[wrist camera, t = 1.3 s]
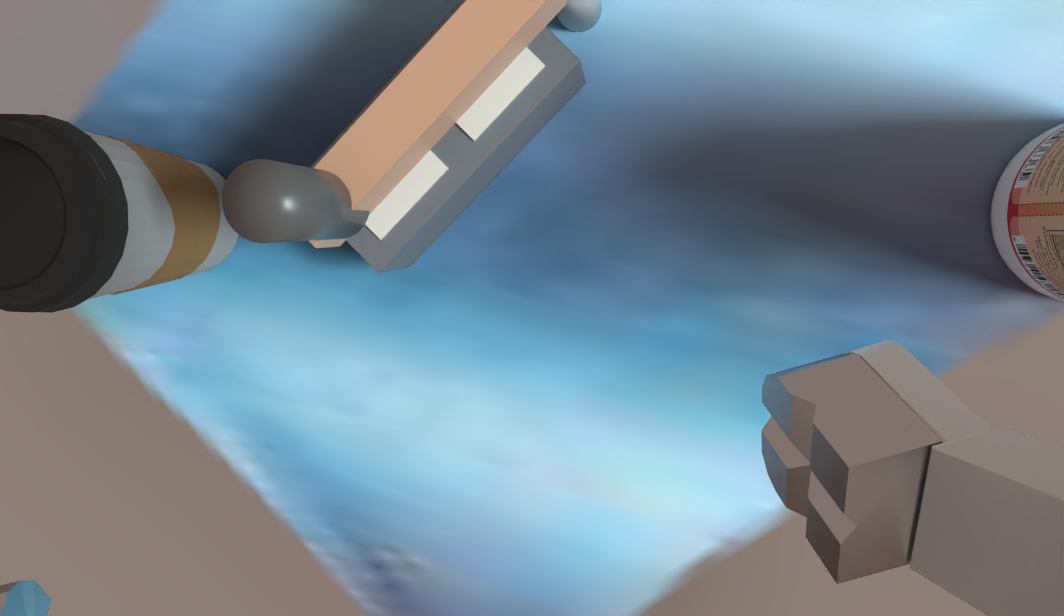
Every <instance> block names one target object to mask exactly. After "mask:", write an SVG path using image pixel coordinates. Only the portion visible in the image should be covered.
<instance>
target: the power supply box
mask: <svg viewBox="0 0 1064 616" xmlns="http://www.w3.org/2000/svg"><path fill="white" fill-rule="evenodd" d="M465 1H466V0H461V1H460V2H459V3H458V4H457V6H456V7H455V8H454V9H453V10H452V11H451V12H450V13H449V14H448V15H447V17H446V18H445V19H444V20H443V21H442V22H441V23H440V24H439V25H438V26H437V28H436V29H435V30H434V31H433V32H432V33H431V34H430V35H429V36H428V37H427V39H426V40H425V41H424V42H423V43H422V44H421V45H420V46H419V47H418V48H417V50H416V51H415V52H414V53H413V54H412V55H411V56H410V57H409V58H408V59H407V61H406V62H405V63H404V64H403V65H402V66H401V67H400V68H399V69H398V70H397V72H396V73H395V74H394V75H393V76H392V77H391V78H390V79H389V80H388V81H387V83H386V84H385V85H384V86H383V87H382V88H381V89H380V90H379V91H378V92H377V94H376V95H375V96H374V97H373V98H372V99H371V100H370V101H369V102H368V103H367V105H366V106H365V107H364V108H363V109H362V110H361V111H360V112H359V113H358V114H357V116H356V117H355V118H354V119H353V120H352V121H351V122H350V123H349V124H348V125H347V127H346V128H345V129H344V130H343V131H342V132H341V133H340V134H339V135H338V136H337V138H336V139H335V140H334V141H333V142H332V143H331V144H330V145H329V146H328V147H327V149H326V150H325V151H324V152H323V153H322V154H321V155H320V156H319V157H318V158H317V160H316V161H315V162H314V163H313V164H312V165H311V166H310V167H309V168H314V167H315V166H316V165H317V164H318V163H319V161H320V160H321V159H322V158H323V157H324V156H325V155H326V154H327V153H328V152H329V151H330V149H331V148H332V147H333V146H334V145H335V144H336V143H337V142H338V141H339V140H340V138H341V137H342V136H343V135H344V134H345V133H346V132H347V131H348V130H349V129H350V127H351V126H352V125H353V124H354V123H355V122H356V121H357V120H358V119H359V118H360V116H361V115H362V114H363V113H364V112H365V111H366V110H367V109H368V108H369V107H370V105H371V104H372V103H373V102H374V101H375V100H376V99H377V98H378V97H379V96H380V94H381V93H382V92H383V91H384V90H385V89H386V88H387V87H388V86H389V85H390V83H391V82H392V81H393V80H394V79H395V78H396V77H397V76H398V75H399V74H400V72H401V71H402V70H403V69H404V68H405V67H406V66H407V65H408V64H409V63H410V62H411V60H412V59H413V58H414V57H415V56H416V55H417V54H418V53H419V52H420V51H421V49H422V48H423V47H424V46H425V45H426V44H427V43H428V42H429V41H430V40H431V38H432V37H433V36H434V35H435V34H436V33H437V32H438V31H439V30H440V29H441V27H442V26H443V25H444V24H445V23H446V22H447V21H448V20H449V19H450V18H451V16H452V15H453V14H454V13H455V12H456V11H457V10H458V9H459V8H460V7H461V5H462V4H463V3H464V2H465ZM566 3H567V4H566V5H565V6H564V7H563V8H562V9H561V10H560V12H559V13H558V14H557V16H558V19H559V21H560V23H561V24H562V25H563V26H564V27H565V28H567V29H568V30H570V31H574V32H583V31H586V30H588V29H590V28H592V27H593V26H594V25H595V24H596V23H597V21H598V20H599V18H600V15H601V0H566ZM584 84H585V79H584V75H583V71H582V66H581V62H580V60H579V59H578V58H577V57H576V56H575V55H574V54H573V53H572V52H571V51H570V50H569V49H568V48H567V47H566V46H565V45H564V44H563V43H562V42H561V41H560V40H559V39H558V38H557V37H556V36H555V35H554V34H553V33H552V32H551V31H550V30H549V29H548V28H547V27H546V26H545V28H544V29H543V30H542V31H541V32H540V33H539V34H538V35H537V36H536V37H535V38H534V39H533V40H532V41H531V43H530V44H529V45H528V46H527V47H526V48H525V49H524V50H523V51H522V52H521V53H520V54H519V55H518V56H517V57H516V59H515V60H514V61H513V62H512V63H511V64H510V65H509V66H508V67H507V68H506V69H505V70H504V71H503V72H502V74H501V75H500V76H499V77H498V78H497V79H496V80H495V81H494V82H493V83H492V84H491V85H490V86H489V87H488V89H487V90H486V91H485V92H484V93H483V94H482V95H481V96H480V97H479V98H478V99H477V100H476V101H475V102H474V103H473V105H472V106H471V107H470V108H469V109H468V110H467V111H466V112H465V113H464V114H463V115H462V116H461V117H460V118H459V120H458V121H457V122H456V123H455V124H454V125H453V126H452V127H451V128H450V129H449V130H448V131H447V132H446V133H445V134H444V136H443V137H442V138H441V139H440V140H439V141H438V142H437V143H436V144H435V145H434V146H433V147H432V148H431V149H430V151H429V152H428V153H427V154H426V155H425V156H424V157H423V158H422V159H421V160H420V161H419V162H418V163H417V164H416V166H415V167H414V168H413V169H412V170H411V171H410V172H409V173H408V174H407V175H406V176H405V177H404V178H403V179H402V180H401V182H400V183H399V184H398V185H397V186H396V187H395V188H394V189H393V190H392V191H391V192H390V193H389V194H388V195H387V197H386V198H385V199H384V200H383V201H382V202H381V203H380V204H379V205H378V206H377V207H376V208H375V209H374V210H373V212H372V213H371V214H370V215H369V216H368V219H367V221H366V223H365V225H364V227H363V228H362V229H361V230H360V231H359V232H358V233H357V234H355V235H353V236H351V237H349V238H347V239H346V241H347V242H348V243H349V244H350V245H351V246H352V247H353V248H354V249H355V250H356V251H357V252H358V253H359V254H360V255H361V256H362V257H363V258H364V259H365V260H366V261H367V262H368V263H369V264H370V265H371V266H372V267H373V268H374V269H375V270H376V271H377V272H378V273H380V272H385V271H390V270H395V269H401V268H406V267H410V266H411V265H412V264H413V263H414V262H415V261H416V260H417V259H418V257H419V256H420V255H421V254H422V253H423V252H424V251H425V250H426V249H427V248H428V247H429V246H430V245H431V244H432V243H433V242H434V241H435V240H436V239H437V238H438V237H439V236H440V234H441V233H442V232H443V231H444V230H445V229H446V228H447V227H448V226H449V225H450V224H451V223H452V222H453V221H454V220H455V219H456V218H457V217H458V216H459V215H460V214H461V213H462V212H463V210H464V209H465V208H466V207H467V206H468V205H469V204H470V203H471V202H472V201H473V200H474V199H475V198H476V197H477V196H478V195H479V194H480V193H481V192H482V191H483V190H484V189H485V188H486V186H487V185H488V184H489V183H490V182H491V181H492V180H493V179H494V178H495V177H496V176H497V175H498V174H499V173H500V172H501V171H502V170H503V169H504V168H505V167H506V166H507V165H508V163H509V162H510V161H511V160H512V159H513V158H514V157H515V156H516V155H517V154H518V153H519V152H520V151H521V150H522V149H523V148H524V147H525V146H526V145H527V144H528V143H529V142H530V141H531V139H532V138H533V137H534V136H535V135H536V134H537V133H538V132H539V131H540V130H541V129H542V128H543V127H544V126H545V125H546V124H547V123H548V122H549V121H550V120H551V119H552V118H553V117H554V115H555V114H556V113H557V112H558V111H559V110H560V109H561V108H562V107H563V106H564V105H565V104H566V103H567V102H568V101H569V100H570V99H571V98H572V97H573V96H574V95H575V94H576V92H577V91H578V90H579V89H580V88H581V87H582V86H583V85H584Z"/></svg>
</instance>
